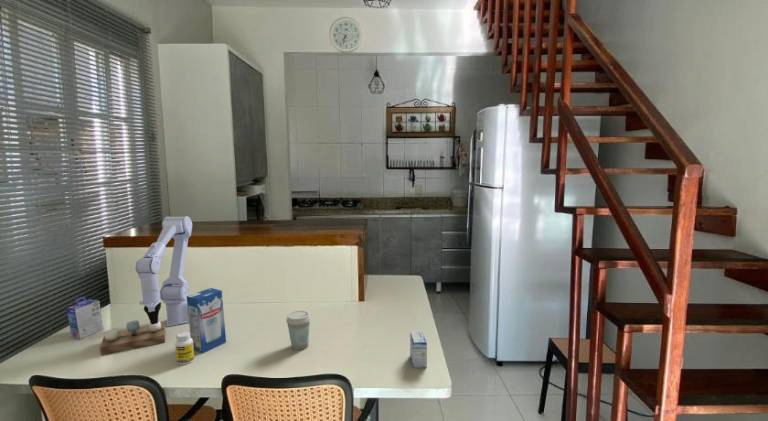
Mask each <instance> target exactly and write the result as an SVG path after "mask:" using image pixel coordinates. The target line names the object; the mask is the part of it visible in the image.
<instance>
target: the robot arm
mask: <svg viewBox="0 0 768 421" xmlns="http://www.w3.org/2000/svg"><path fill="white" fill-rule="evenodd" d="M161 225H162V230H161V232H160V234H159V236H158V238H157V240H156V242H153V243H151V245H150V246H149V247H148V249H147V251H146V252H145V253H144V256H143V257H141V258H139V259H138V260H137V261H136V263H135V267H134V269H135V271H136V273H137V274H138V275H137V276H138V279H140V287H141V294H142V300H141V301H139V305H142V306H144V307H143V311H144V313H146V315H147V317H148V320H149V323H151V324H157V323H158V321H159V312H160V310H161V307H162V301H163V304H165V309H166V327H173V326H176V325H177V326H178V325H182V324H189V316H188V306H187V297H186V296H189V295H190V288H189V286H190V285H189V281H187V280H186V279H185V278H184V271H185V266H186V264H185V263H186V259H187V258H186V257H187V253H188V252H187V250H188V243H189V238H190V237H191V236H192V231H193V222H192V219H191V217H189V216H187V215H186V216H165V217H164V218H163V220H162V222H161ZM171 239H173V240H174V243H173V249H172V256H171V262H170V270H169V276H168V277H167V278H166V279H165V280H163V281H162V284H161V287H160V282H159V281H160V280H159V271H160V269H161V263H162V258H163V257H164V255H165V254H166V252H167V247H166V246H167V245H168V243H169V242H170V241H171Z"/></svg>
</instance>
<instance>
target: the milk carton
mask: <svg viewBox="0 0 768 421" xmlns="http://www.w3.org/2000/svg"><path fill="white" fill-rule="evenodd" d="M186 297H187V306H188V316H189V323H188V324H189V332H190V338H192V340H193V347H194V352H198V353H200V354H205V353H207V352H209V351H211V350H214V349H215V348H218V347H220V346H221V345H223V344H225V343H227V337H226V336H227V335H226V324H225V322H226V321H225V315H224V303H223V290H222V289H217V288H214V287H213V288H212V287H210V288H206V289H204V290H200V291H198V292H195V293H192V294H189V295H188V296H186Z"/></svg>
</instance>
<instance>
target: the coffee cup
mask: <svg viewBox="0 0 768 421" xmlns="http://www.w3.org/2000/svg"><path fill="white" fill-rule="evenodd" d="M311 319H312V318H311V315H310V313H309V312H308V311H305V310H297V311H292V312H289V313H288V314H287V317H286V323H287V329H288V333H289V334H288V335H289V339H290V343H291V349H292V350H295V351H303V350H305V349H308V347H309V340H310V339H309V338H310V323H311Z"/></svg>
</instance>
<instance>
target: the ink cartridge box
mask: <svg viewBox="0 0 768 421" xmlns="http://www.w3.org/2000/svg"><path fill="white" fill-rule="evenodd" d="M74 301H75V303H76V304H74V305H72V306H68V307H67V308H65V309H66V313H67V318H68V319H67V320H68V324H69V331H70V336H71V338H72V339H78V340H80V339H83V338H85V337H87V336H90V335H92V334H94V333H97V332H99V331H101V330H103V329H104V323H103V317H102V310H101V304H100V300H98V299H92V298H90V299H87V298H86V297H85V296H80V297H77V298H75V299H74Z"/></svg>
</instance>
